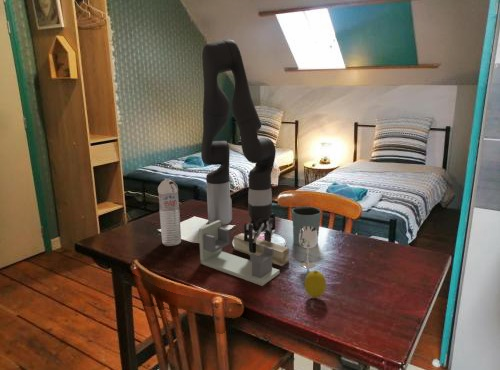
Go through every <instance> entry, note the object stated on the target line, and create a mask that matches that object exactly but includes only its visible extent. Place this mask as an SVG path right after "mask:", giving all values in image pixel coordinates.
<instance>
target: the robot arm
mask: <svg viewBox="0 0 500 370" xmlns="http://www.w3.org/2000/svg"><path fill="white" fill-rule="evenodd" d="M201 55H202V57H201V58H202V59H201V61H202V71H203V72H202V73H203V74H202V75H203V105H202V107H203V108H202V123H203V124H202V127H203V129H202V139H201V140H202V141H201V152H200V157H201V160H202V163H203V164H204V165H205V166H216V165H217V166H219V167H217V169H215V170H213V171H211V172H209V173H207V174H206V176H205V178H206V201H207V203H206V204H207V222H208V224H210V223H212V222H215V221H217V220H220V221H221V226H225V225H226V226H227V225H228V224H230V223H231V222H232V220H233V207H232V206H233V204H232V198H231V191H230V190H231V188H230V187H231V186H230V183H231V182H230V181H231V180H230V158H231V157H230V155H231V154H230V152H231V150H230V145H229V144H230V143H229V142H227V140H215V138H216V137H217V135H219V133H220V132H221V131H222V130H223V129H224V128H225V126H227V124H228V122H229V118H230V108H232V114H233V117H234V119H235V123H236V126H237V127H238V129H239V135H240V144H241V151H242V154H243V156H244V158H245V159H246V160H247V162H249V163H250V164H255V166H253V168H251V170H250V171H249V173H248V194H247V195H248V196H247V198H248V201H247V202H248V203H247V204H248V205H247V207H248V216H249V217H250V219H251V220H250V222H249V223H244V224H243V225H244V227H243V229H244V230H243V234H244V241H246V242H249V251H250V252H251V253H256V239H257V238H258V237H260V235H261V233H263V231H264V240H265V241H268V242H272V235H271V233H272V231H273V230H275V231H276V214H275V213H273V202H272V200H273V194H272V193H273V192H272V173H273V169H274V163H275V159H276V155H277V154H276V152H277V150H276V146H275V143H274V142H273V140H272V139H270V138H269V137H262V138H259V137H258V131H260V129H261V128H262V122H261V120H260V116H259V115H258V112H257V109H256V107H255V105H254V104H255V103H254V101H253V98H252V95H251V91H250V87H249V82H248V77H247V74H246V73H247V72H246V70H245V65H244V61H243V58H242V54H241V50H240V48H239V46H238V44H237V42H235V40H233V39H224V40H218V41H214V42H213V41H212V42H209V43H206V44H205V45H203V48H202V54H201ZM230 71H231V73H232V76H233V79H234V89H233V97H232V103H230V100H229V98H228V96H227V95H226V93H225V92H224V91H223V89H222V88H221V87H220V85H219V83H218V76H219V74H221V73H222V74H223V73H226V72H230ZM230 104H231V105H230ZM230 106H231V107H230ZM271 224H272V225H271ZM253 230H254V231H255V232H253ZM248 235H249V237H248ZM253 237H254V238H253Z"/></svg>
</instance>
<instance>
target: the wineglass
mask: <svg viewBox="0 0 500 370" xmlns="http://www.w3.org/2000/svg"><path fill="white" fill-rule="evenodd" d="M318 237H319V235H318V236H317V231H316V228H315V227H311V226H304V227H302V228H301V230H300V234H299V243H300V245H301V246H302V247H301V248H303V249H306V250H305V251H306V260H305V261H302V262H300V266H301V267H303V268H305V269H309V268H310V269H312V268H314V267H315V266H316V265H315V263H314V262H313V261H309V254H310V252H311V251H310V249H314V248H315V247H316V246H317V245H318V243H319V242H318V241H319V238H318ZM317 242H318V243H317Z"/></svg>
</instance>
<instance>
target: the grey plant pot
mask: <svg viewBox="0 0 500 370" xmlns="http://www.w3.org/2000/svg"><path fill="white" fill-rule="evenodd" d="M321 216H322V210H321V209H319V208H318V207H315V206H309V205H307V206H306V205H305V206H297V207H293V208H292V209H291V218H292V220H291V221H292V232H293V233H292V235H293V238H292V240H293V244H294V245H295V246H297V247H300V248H303V247H302V246H301V245H300V243H299V234H300V230H301V228H302V227H304V226H311V227H315V228H316V231H317V236H318V237H319V233H320V232H319V231H320V222H321ZM318 243H319V242H317V244H318Z"/></svg>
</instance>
